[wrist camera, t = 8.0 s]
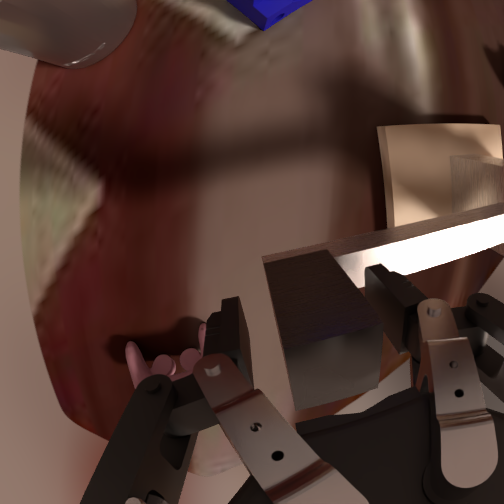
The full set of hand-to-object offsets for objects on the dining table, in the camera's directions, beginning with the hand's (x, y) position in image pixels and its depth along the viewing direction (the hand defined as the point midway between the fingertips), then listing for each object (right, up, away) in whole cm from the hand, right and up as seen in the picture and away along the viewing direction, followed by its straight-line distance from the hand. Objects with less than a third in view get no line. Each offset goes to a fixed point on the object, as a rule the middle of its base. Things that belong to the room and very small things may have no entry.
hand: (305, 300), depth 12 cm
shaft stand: (+17, +9, +11) cm, 22 cm away
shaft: (+7, +3, +3) cm, 8 cm away
